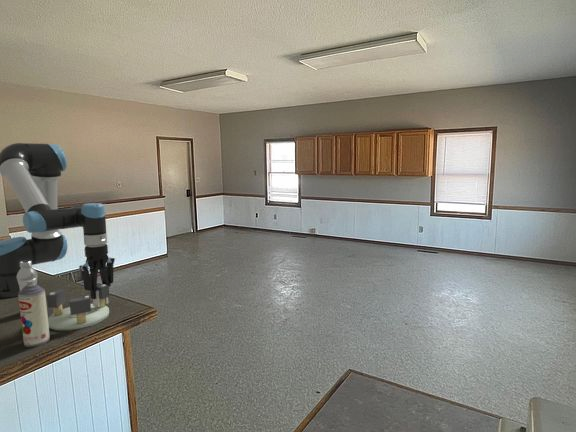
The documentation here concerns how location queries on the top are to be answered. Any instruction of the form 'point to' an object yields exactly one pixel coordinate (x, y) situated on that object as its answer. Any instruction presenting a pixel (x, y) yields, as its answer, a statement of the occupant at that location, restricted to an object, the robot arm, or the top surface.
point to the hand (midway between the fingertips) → (100, 304)
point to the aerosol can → (34, 315)
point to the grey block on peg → (102, 293)
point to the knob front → (80, 308)
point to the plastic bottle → (26, 274)
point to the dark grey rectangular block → (57, 301)
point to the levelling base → (70, 321)
